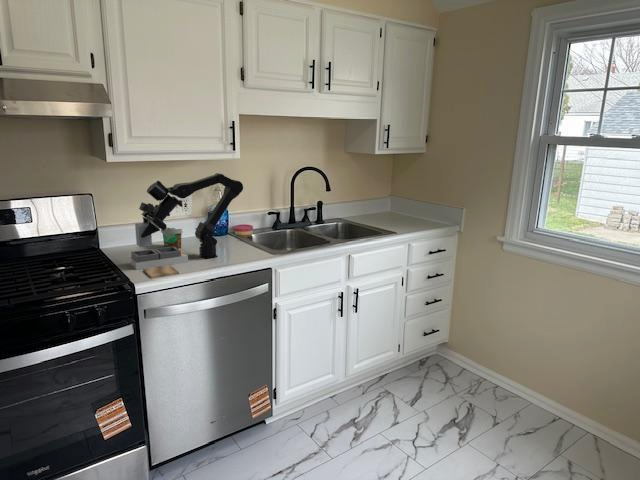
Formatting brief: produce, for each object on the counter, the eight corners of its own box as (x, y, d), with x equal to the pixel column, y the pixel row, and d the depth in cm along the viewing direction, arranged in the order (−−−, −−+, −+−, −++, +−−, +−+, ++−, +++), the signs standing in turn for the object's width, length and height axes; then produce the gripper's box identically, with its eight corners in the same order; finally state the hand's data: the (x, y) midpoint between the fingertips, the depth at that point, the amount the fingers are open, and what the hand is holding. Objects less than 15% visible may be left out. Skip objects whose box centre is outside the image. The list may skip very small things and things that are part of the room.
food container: (156, 247, 228) (155, 227, 226) (166, 244, 233) (165, 225, 231) (172, 251, 221) (171, 230, 219) (183, 248, 226) (182, 228, 224)
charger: (148, 242, 200) (147, 222, 198) (152, 245, 196) (150, 224, 194) (136, 244, 197) (135, 223, 195) (139, 246, 193) (138, 225, 191)
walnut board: (170, 266, 198) (169, 265, 197) (178, 273, 189) (178, 271, 189) (143, 270, 191) (143, 269, 191) (151, 278, 183) (151, 276, 182)
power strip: (180, 257, 212) (180, 245, 211) (188, 262, 205) (187, 250, 204) (130, 264, 199) (129, 252, 198) (136, 269, 192) (135, 257, 191)
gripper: (145, 192, 201) (120, 219, 198) (156, 198, 186) (130, 228, 183) (164, 209, 207) (140, 235, 204) (177, 216, 192) (151, 245, 189)
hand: (140, 235), depth 195 cm, fingers closed on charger, 5 cm apart
